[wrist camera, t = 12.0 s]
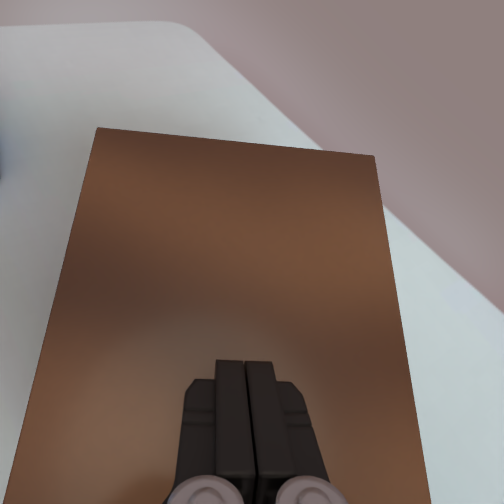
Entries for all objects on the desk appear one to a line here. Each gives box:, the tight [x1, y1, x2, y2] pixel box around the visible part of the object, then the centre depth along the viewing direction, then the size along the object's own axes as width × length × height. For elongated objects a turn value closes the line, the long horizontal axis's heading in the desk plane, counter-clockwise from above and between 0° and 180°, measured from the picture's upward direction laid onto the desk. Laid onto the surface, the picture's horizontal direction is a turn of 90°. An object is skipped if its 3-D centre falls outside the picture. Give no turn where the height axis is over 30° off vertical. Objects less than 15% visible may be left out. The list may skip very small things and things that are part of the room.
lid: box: [3, 127, 431, 504], centre depth 13 cm, size 15×11×1 cm
